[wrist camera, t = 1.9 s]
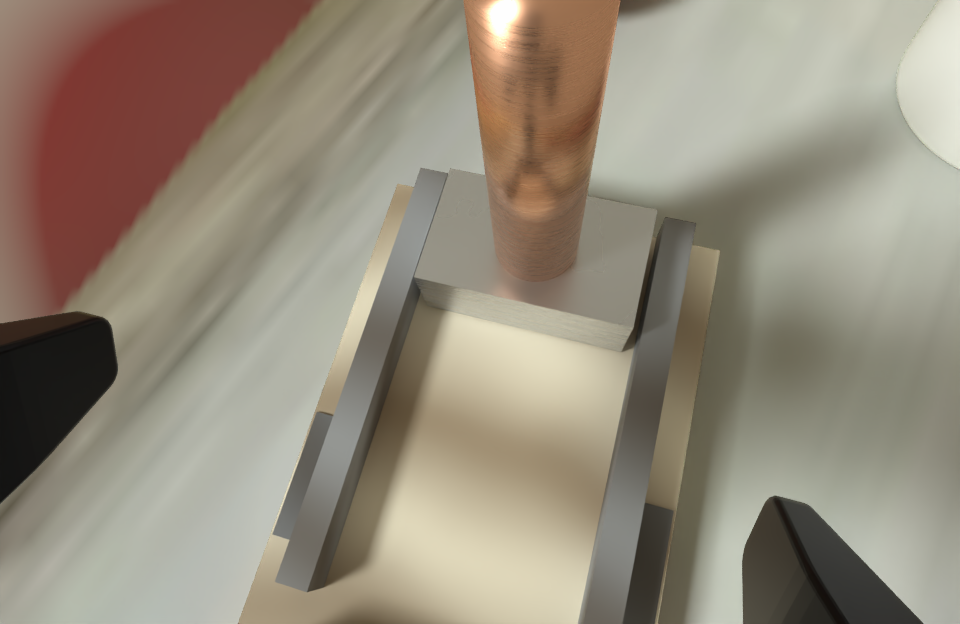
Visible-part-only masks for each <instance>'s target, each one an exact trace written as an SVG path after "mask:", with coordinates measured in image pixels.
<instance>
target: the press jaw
mask: <svg viewBox="0 0 960 624" xmlns="http://www.w3.org/2000/svg"><path fill="white" fill-rule="evenodd" d="M619 6H620V0H464V8H465V16H466V24H467V31H468V39H469V47H470V55H471V63H472V71H473V79H474V87H475V95H476V103H477V111H478V119H479V127H480V135H481V143H482V151H483V159H484V167H485V175H481V174H476V173H471V172H466V171H461V170H456V169H451V168H450V171H449V174H448V177H447V180H446V183H445V186H444V189H443V192H442V195H441V198H440V201H439V204H438V207H437V210H436V213H435V215H434V218H433V221H432V224H431V227H430V230H429V233H428V236H427V239H426V242H425V245H424V248H423V251H422V254H421V257H420V260H419V263H418V266H417V269H416V272H415V275H414V278H415V281H416V283H417V285H418V287H419V289H420V292H421V294H422V296H423V298H424V300H425V302H426V305H427V306H429V307H434V308H438V309H442V310H446V311H450V312H455V313H459V314H463V315H467V316H471V317H475V318H480V319H484V320H488V321H492V322H496V323H501V324H505V325H509V326H513V327H517V328H521V329H526V330H530V331H534V332H538V333H542V334H547V335H551V336H555V337H559V338H563V339H567V340H572V341H576V342H580V343H584V344H588V345H593V346H597V347H601V348H605V349H609V350H613V351H618V352H621V351H622V349H623V347H624V345H625V343H626V341H627V339H628V337H629V335H630V333H631V332H632V330H633V327H634V322H635V317H636V313H637V308H638V303H639V298H640V293H641V289H642V284H643V279H644V274H645V269H646V264H647V260H648V255H649V250H650V245H651V240H652V235H653V231H654V226H655V221H656V216H657V211H658V210H656V209H651V208H646V207H641V206H636V205H631V204H626V203H621V202H616V201H611V200H606V199H601V198H596V197H591V196H587V193H588V188H589V182H590V176H591V170H592V164H593V158H594V152H595V147H596V141H597V135H598V129H599V123H600V117H601V111H602V106H603V100H604V94H605V88H606V82H607V76H608V71H609V65H610V59H611V53H612V47H613V41H614V35H615V30H616V24H617V18H618V12H619Z"/></svg>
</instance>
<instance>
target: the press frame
mask: <svg viewBox="0 0 960 624" xmlns="http://www.w3.org/2000/svg"><path fill="white" fill-rule="evenodd" d="M447 177H448V173H444V172H439V171H434V170H429V169H424V168H421V169H420V172H419V174H418V177H417V180H416V183H415V186H414V187H411V186H406V185H401V184H397V187H396V190H395V193H394V195H393V198H392V201H391V204H390V206H389V209H388V212H387V215H386V217H385V220H384V223H383V226H382V228H381V231H380V234H379V237H378V239H377V242H376V245H375V248H374V250H373V253H372V256H371V259H370V261H369V264H368V267H367V270H366V272H365V275H364V278H363V281H362V283H361V286H360V289H359V292H358V294H357V297H356V300H355V303H354V305H353V308H352V311H351V314H350V317H349V319H348V322H347V325H346V328H345V330H344V333H343V336H342V339H341V341H340V344H339V347H338V350H337V352H336V355H335V358H334V361H333V363H332V366H331V369H330V372H329V374H328V377H327V380H326V383H325V385H324V388H323V391H322V394H321V396H320V399H319V402H318V405H317V407H316V410H315V413H314V416H313V418H312V421H311V424H310V427H309V429H308V432H307V435H306V438H305V440H304V443H303V446H302V449H301V451H300V454H299V457H298V460H297V462H296V465H295V468H294V471H293V473H292V476H291V479H290V482H289V484H288V487H287V490H286V493H285V495H284V498H283V501H282V504H281V506H280V509H279V512H278V515H277V517H276V520H275V523H274V526H273V528H272V531H271V534H270V537H269V539H268V542H267V545H266V548H265V550H264V553H263V556H262V559H261V561H260V564H259V567H258V570H257V572H256V575H255V578H254V581H253V583H252V586H251V589H250V592H249V594H248V597H247V600H246V603H245V605H244V608H243V611H242V614H241V616H240V619H239V622H238V624H658V619H659V613H660V607H661V601H662V595H663V589H664V583H665V577H666V571H667V565H668V559H669V553H670V547H671V541H672V535H673V529H674V523H675V517H676V511H677V505H678V499H679V493H680V487H681V481H682V475H683V469H684V463H685V457H686V451H687V445H688V439H689V433H690V427H691V421H692V415H693V410H694V404H695V398H696V392H697V386H698V380H699V374H700V368H701V362H702V356H703V350H704V344H705V338H706V332H707V326H708V320H709V314H710V308H711V302H712V296H713V290H714V284H715V278H716V272H717V266H718V260H719V254H720V250H715V249H710V248H706V247H701V246H696V245H692V243H693V238H694V232H695V227H696V223H693V222H688V221H683V220H678V219H673V218H668V217H665V219H664V222H663V224H662V226H661V229H660V231H659V233H658V236H657V237H652V240H651V245H650V250H649V255H648V260H647V264H646V269H645V274H644V279H643V284H642V289H641V293H640V298H639V303H638V308H637V313H636V317H635V322H634V327H633V330H632V332H631V333H630V335H629V337H628V339H627V341H626V343H625V345H624V347H623V349H622V351H621V352H618V351H613V350H609V349H605V348H601V347H597V346H593V345H588V344H584V343H580V342H576V341H572V340H567V339H563V338H559V337H555V336H551V335H547V334H542V333H538V332H534V331H530V330H526V329H521V328H517V327H513V326H509V325H505V324H501V323H496V322H492V321H488V320H484V319H480V318H475V317H471V316H467V315H463V314H459V313H455V312H450V311H446V310H442V309H438V308H434V307H429V306H427V305H426V302H425V300H424V298H423V296H422V294H421V292H420V289H419V287H418V285H417V283H416V281H415V278H414V275H415V272H416V269H417V266H418V263H419V260H420V257H421V254H422V251H423V248H424V245H425V242H426V239H427V236H428V233H429V230H430V227H431V224H432V221H433V218H434V215H435V213H436V210H437V207H438V204H439V201H440V198H441V195H442V192H443V189H444V186H445V183H446V180H447Z"/></svg>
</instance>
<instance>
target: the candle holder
mask: <svg viewBox="0 0 960 624" xmlns="http://www.w3.org/2000/svg"><path fill="white" fill-rule="evenodd" d="M896 93H897V99H898V103H899V106H900V109H901V112H902V114H903V116H904V118H905V120H906V122H907V124H908V125H909V127H910V128H911V130H912V131H913V132H914V134H915V135H916V136H917V137H918V139H919V140H920V141H921V142H922V143H923V144H924V145H925V146H926V147H927V148H928V149H929V150H931V151H932V152H933V153H934V154H935V155H937V156H938V157H939V158H941V159H942V160H944V161H945V162H947V163H948V164H950V165H952V166H953V167H955V168H957V169H959V170H960V0H938V1H937V3H936V4H935V5H934V7H933V8H932V10H931V11H930V13H929V14H928V16H927V17H926V19H925V20H924V22H923V23H922V25H921V26H920V28H919V29H918V31H917V33H916V34H915V36H914V37H913V39H912V40H911V42H910V44H909V45H908V47H907V49H906V50H905V52H904V54H903V56H902V59H901V61H900V64H899V67H898V71H897V77H896Z"/></svg>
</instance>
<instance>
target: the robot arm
mask: <svg viewBox="0 0 960 624" xmlns="http://www.w3.org/2000/svg"><path fill="white" fill-rule="evenodd" d="M117 372H118V363H117V357H116V351H115V344H114V338H113V332H112V327H111V325H110V323H109V322H108V320H106V319H105V318H103V317H100V316H96V315H92V314H89V313H85V312H78V311H76V312H68V313H62V314H56V315H50V316H44V317H38V318H31V319H25V320H19V321H13V322H7V323H0V504H1V503H2V502H3V501H4V500H5V499H6V498H7V497H8V496H9V495H10V494H11V493H12V492H14V491H15V490H16V489H17V488H18V487H19V486H20V485H21V484H22V483H23V482H24V481H25V480H26V479H27V478H28V477H29V476H30V475H31V474H32V473H33V472H34V471H35V470H36V469H37V468H38V467H39V466H40V465H41V464H42V463H43V462H44V461H45V460H46V459H47V458H48V456H49V455H50V454H51V453H52V452H53V451H54V450H55V449H56V448H57V446H58V445H59V444H60V443H61V442H62V441H63V440H64V439H65V437H66V436H67V435H68V434H69V433H70V432H71V431H72V430H73V428H74V427H75V426H76V425H77V424H78V423H79V422H80V420H81V419H82V418H83V417H84V416H85V415H86V414H87V413H88V411H89V410H90V409H91V408H92V407H93V406H94V405H95V404H96V402H97V401H98V400H99V399H100V398H101V397H102V396H103V395H104V393H105V392H106V391H107V390H108V389H109V388H110V387H111V385H112V384H113V382H114V381H115V379H116V376H117ZM742 582H743V624H923V623H922V621H921V620H920V619H919V618H918V617H917V616H916V615H915V614H914V613H913V612H912V611H911V610H910V609H909V608H908V607H907V606H906V605H905V604H904V603H903V602H902V601H901V600H900V599H899V598H898V597H897V596H896V595H895V593H894V592H893V591H892V590H891V589H890V588H889V587H888V586H887V585H886V584H885V583H884V582H883V581H882V580H881V579H880V578H879V577H878V576H877V575H876V574H875V573H874V572H873V571H872V570H871V569H870V568H869V566H868V565H867V564H866V563H865V562H864V561H863V560H862V559H861V558H860V557H859V556H858V555H857V554H856V553H855V552H854V551H853V550H852V549H851V548H850V547H849V546H848V545H847V544H846V543H845V542H844V541H843V540H842V538H841V537H840V536H839V535H838V534H837V533H836V532H835V531H834V530H833V529H832V528H831V527H830V526H829V525H828V524H827V523H826V522H825V521H824V520H823V519H822V518H821V517H820V516H819V515H818V514H817V513H816V512H815V510H814V509H812V508H811V507H810V506H809V505H807V504H805V503H802V502H798V501H794V500H791V499H787V498H783V497H779V496H773V497H770V498H769V499H768V500H767V501H766V502H765V504H764V506H763V508H762V510H761V512H760V514H759V516H758V519H757V521H756V523H755V525H754V527H753V529H752V531H751V534H750V536H749V538H748V540H747V542H746V545H745V548H744V553H743V560H742Z"/></svg>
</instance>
